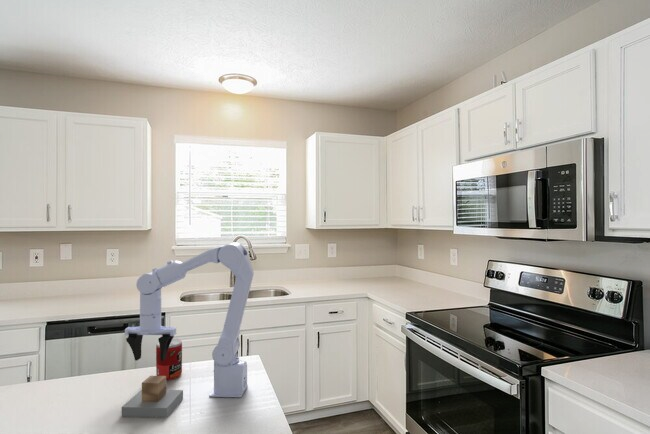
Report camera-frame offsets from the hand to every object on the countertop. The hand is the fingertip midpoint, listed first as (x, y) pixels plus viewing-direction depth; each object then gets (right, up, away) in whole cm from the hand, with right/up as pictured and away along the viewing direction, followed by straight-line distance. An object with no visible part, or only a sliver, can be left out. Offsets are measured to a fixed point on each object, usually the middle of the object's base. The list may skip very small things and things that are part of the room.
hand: (150, 359), depth 109 cm
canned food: (0, -10, +12) cm, 16 cm away
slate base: (+5, -10, -8) cm, 14 cm away
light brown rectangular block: (+5, -7, -8) cm, 12 cm away
